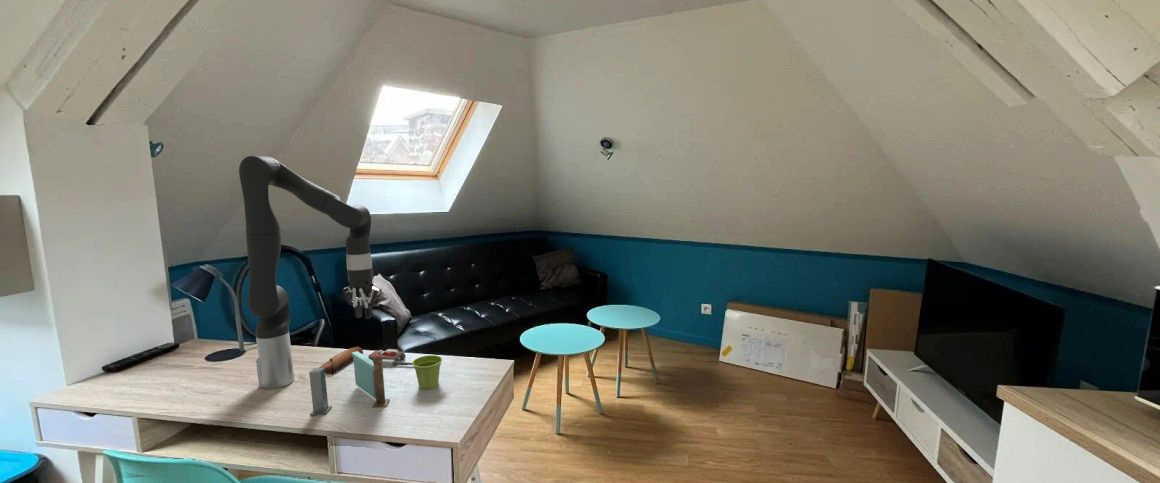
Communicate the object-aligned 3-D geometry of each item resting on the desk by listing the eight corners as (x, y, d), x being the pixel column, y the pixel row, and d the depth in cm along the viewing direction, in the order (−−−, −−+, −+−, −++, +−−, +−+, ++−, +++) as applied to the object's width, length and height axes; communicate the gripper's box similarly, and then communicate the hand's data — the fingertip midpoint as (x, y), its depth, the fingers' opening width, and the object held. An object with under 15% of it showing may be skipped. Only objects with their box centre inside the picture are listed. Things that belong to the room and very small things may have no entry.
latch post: (310, 415, 139) (305, 373, 137) (316, 408, 143) (312, 367, 141) (325, 414, 139) (321, 372, 137) (331, 407, 144) (327, 366, 141)
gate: (381, 398, 147) (378, 364, 145) (375, 400, 146) (372, 366, 144) (360, 382, 158) (357, 351, 156) (354, 384, 156) (351, 352, 155)
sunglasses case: (343, 353, 185) (350, 339, 184) (358, 362, 185) (365, 349, 184) (312, 373, 168) (319, 358, 166) (328, 383, 168) (336, 368, 166)
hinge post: (372, 407, 143) (368, 358, 140) (376, 401, 147) (372, 353, 144) (386, 407, 143) (382, 357, 141) (389, 400, 147) (386, 352, 145)
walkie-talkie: (361, 366, 174) (413, 369, 171) (360, 354, 174) (412, 357, 171) (375, 357, 183) (424, 359, 180) (374, 346, 182) (423, 348, 179)
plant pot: (449, 385, 157) (447, 360, 156) (422, 395, 151) (421, 369, 149) (434, 376, 164) (432, 352, 162) (408, 386, 157) (406, 361, 156)
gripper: (333, 268, 154) (337, 319, 156) (370, 270, 150) (375, 322, 153) (349, 263, 161) (353, 313, 164) (385, 265, 158) (389, 315, 160)
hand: (364, 317), depth 158 cm, fingers open, 3 cm apart
